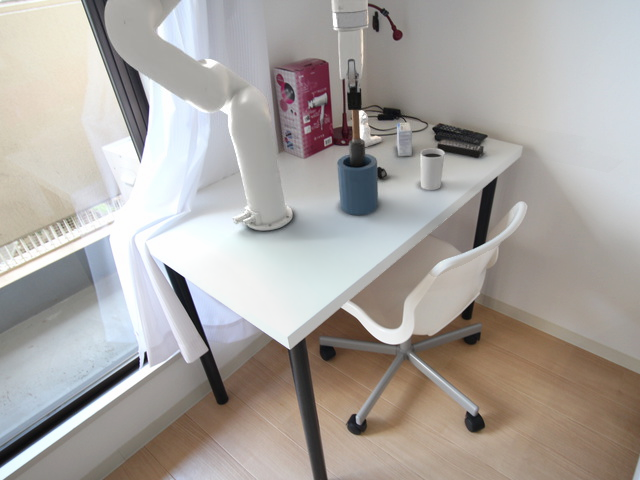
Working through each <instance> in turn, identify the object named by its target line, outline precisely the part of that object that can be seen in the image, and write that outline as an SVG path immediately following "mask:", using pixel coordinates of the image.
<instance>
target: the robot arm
mask: <svg viewBox="0 0 640 480" xmlns="http://www.w3.org/2000/svg"><path fill="white" fill-rule="evenodd" d="M181 1H182V0H107V1H106V3H105V7H104V25H105V29H106V33H107V36H108V39H109V42H110V43H111V45H112V47H113V48H114V50H115V51H116V53H117V54H118V56H120V57H121V59H122V60H123V61H124V62H126V63H127V64H128V65H129V66H130V67H132V68H133V69H134V70H135V71H137V72H139V73H140V74H141V75H144V76H145V77H147V78H148V79H149V80H152V81H153V82H154V83H156V84H157V85H159V86H161V87H163V88H164V89H165V90H167V91H168V92H171V93H172V94H173V95H174V96H176V97H178V98H179V99H181V100H182V101H184V102H186V103H187V104H189V105H191V106H192V107H194V108H195V109H197V110H198V111H200V112H203V113H205V114H206V113H207V114H214V113H217V112H219V111H221V112H223V113H224V114H226V115H227V122H228V123H227V124H228V131H229V134H230V137H231V141H232V145H233V148H234V152H235V155H236V159H237V164H238V169H239V171H240V176H241V181H242V184H243V189H244V194H245V198H246V199H245V200H246V202H247V205H246V206H244V211H243V212H242V213H241V214H238V215H236V216H233V217H232V220H233V223H234V225H239V224H241V223H242V224H243V225H244V226H247V227H249V228H250V229H253V230H256V231H263V232H264V231H265V232H266V231H273V230H277V229H280V228H283V227H285V226H286V225H287V224H288V223H290V222H291V220H292V219H293V216H294V215H293V209H292V208H291V207H290V206H288V205H287V204H286V201H285V195H284V189H283V182H282V178H281V173H280V172H281V171H280V166H279V161H278V153H277V148H276V142H275V137H274V130H273V122H272V117H271V110H270V104H269V101H268V99H267V96H265V94H264V93H263V92H262V91H261V90H259V88H257V87H256V86H254V85H253V84H251V83H250V82H249V81H247V80H245V78H243V77H241V76H240V75H238V74H237V73H235V72H234V71H233V70H231V69H230V68H228V67H227V66H226V65H224V64H222V63H220V62H219V61H216V60H214V59H210V58H202V59H199V60H197V59H196V58H193V57H192V56H190V55H189V54H188V53H186V52H185V51H183V50H182V49H181V48H179V47H177V46H176V45H174V44H172V43H170V42H169V41H167V40H165V39H163V37H161V36H160V35H159V34H158V33H157V31H156V30H157V29H158V28H159V27H160V26H161V25H162V24H163V22H164V21H165V20H166V19H167V18H168V16H169V15H171V13H172V12H173V10H174V9H175V8H176V7H177V6H178V5H179V4H180V3H181ZM330 3H331V17H332V29H333V30H334V31H337V43H338V44H337V46H338V47H337V49H338V62H339V63H338V65H339V79H340V80H341V81H342V82H343V81H344V80H345V79H346V86H347V87H346V89H347V90H346V103H347V110H348V111H351V110H359V111H361V110H362V106H363V103H362V102H363V101H362V100H363V99H362V98H363V97H362V88H361V79H362V78H363V70H364V30H365V29H367V28H369V4H368V3H369V1H368V0H330Z"/></svg>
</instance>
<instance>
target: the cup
mask: <svg viewBox="0 0 640 480" xmlns="http://www.w3.org/2000/svg"><path fill="white" fill-rule="evenodd" d="M365 159H366V165H365V166H363V167H359V168H355V167H352V166H351V165H350V154H346V155H343V156H341V157H340V158H339V159H338V160H337V162H336V164H337V165H336V166H337V178H338V190H339V203H340V204H339V205H340V209H341V211H342V212H344V213H345V214H347V215H352V216H364V215H368V214H371V213H373V212H374V211H376V210H377V209H378V207H379V188H378V187H379V186H378V185H379V183H378V181H379V178H378V177H377V167H378V159H377V158H376V157H375V156H374V155H371V154H367V153H365Z"/></svg>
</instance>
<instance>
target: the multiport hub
mask: <svg viewBox="0 0 640 480" xmlns="http://www.w3.org/2000/svg"><path fill="white" fill-rule="evenodd" d="M436 148H437V149H441V150H443V151H444V152H446V153H450V154H456V155H461V156H466V157H471V158H476V159H478V158H480V157H482V155H483V154H484V149H485V146H483V145H479V144H472V143H467V142H461V141H456V140H450V139H446V138H443V139H441V140H440V141H438V143H437V147H436Z"/></svg>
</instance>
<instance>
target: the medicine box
mask: <svg viewBox="0 0 640 480" xmlns="http://www.w3.org/2000/svg"><path fill="white" fill-rule="evenodd" d="M396 149H397V154H398V157H411V156H412V155H413V154H412V153H413V130H412V126H411V122H397V123H396Z"/></svg>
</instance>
